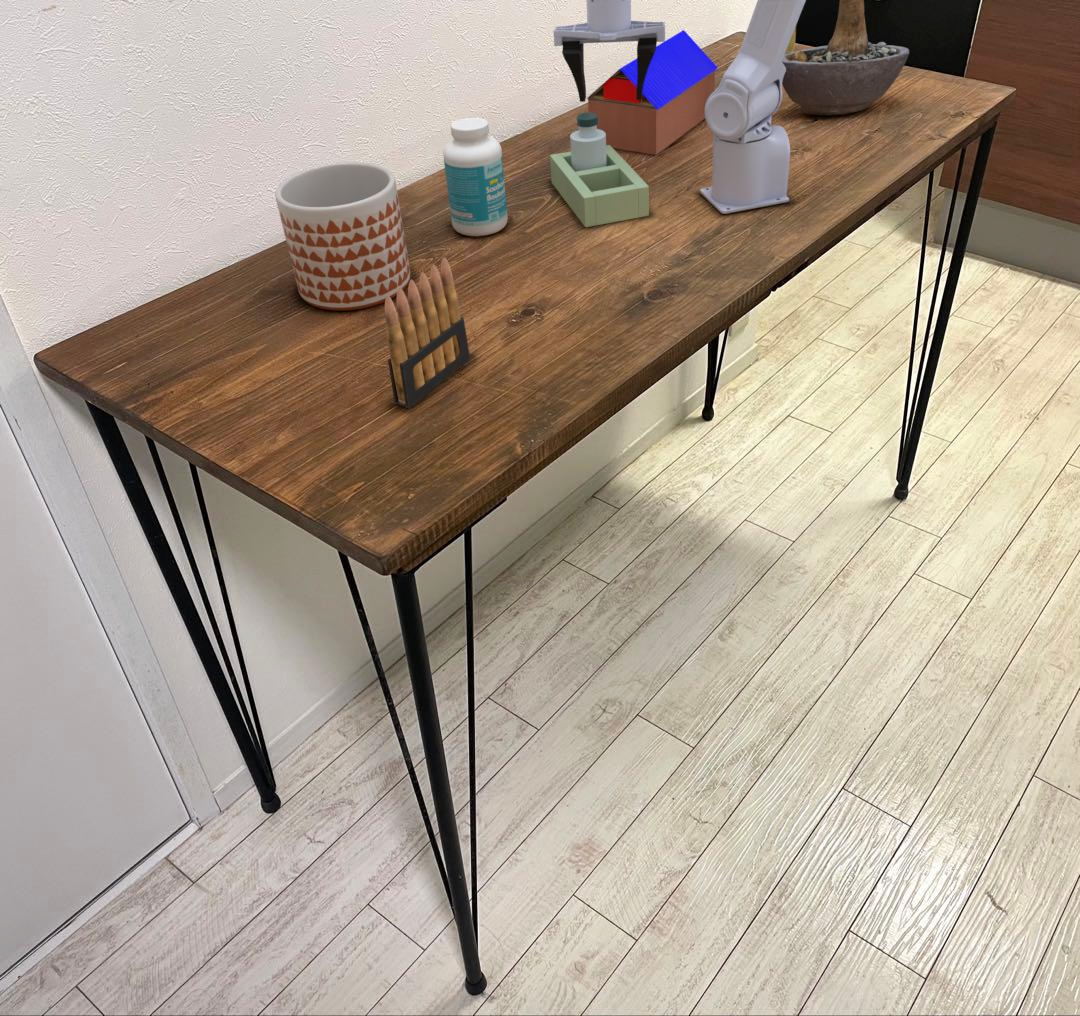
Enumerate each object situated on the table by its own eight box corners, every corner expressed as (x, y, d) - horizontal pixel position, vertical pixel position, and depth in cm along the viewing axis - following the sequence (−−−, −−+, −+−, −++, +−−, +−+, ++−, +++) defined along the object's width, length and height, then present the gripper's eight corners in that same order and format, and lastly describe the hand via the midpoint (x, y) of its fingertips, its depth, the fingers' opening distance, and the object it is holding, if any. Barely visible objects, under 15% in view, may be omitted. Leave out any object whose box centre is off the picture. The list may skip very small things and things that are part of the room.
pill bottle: (501, 239, 131) (490, 134, 123) (446, 238, 133) (431, 134, 124) (514, 215, 137) (504, 113, 128) (461, 213, 138) (448, 113, 130)
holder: (610, 172, 146) (609, 144, 143) (649, 215, 134) (649, 186, 131) (551, 182, 144) (549, 154, 142) (585, 227, 132) (583, 198, 130)
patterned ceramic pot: (379, 318, 117) (359, 213, 109) (277, 305, 122) (251, 203, 113) (429, 265, 127) (414, 164, 119) (334, 254, 131) (313, 157, 123)
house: (716, 111, 162) (719, 33, 154) (657, 156, 149) (657, 73, 142) (649, 102, 167) (649, 26, 160) (586, 144, 155) (583, 64, 147)
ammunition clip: (457, 354, 110) (442, 251, 102) (470, 358, 109) (457, 255, 102) (394, 404, 103) (373, 298, 96) (408, 409, 103) (388, 302, 95)
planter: (766, 119, 157) (776, -23, 145) (820, 87, 167) (834, -49, 154) (855, 137, 149) (874, -12, 137) (906, 102, 159) (928, -40, 146)
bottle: (602, 180, 144) (600, 107, 137) (611, 192, 140) (609, 119, 134) (569, 184, 143) (565, 112, 137) (577, 197, 140) (573, 124, 133)
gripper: (548, 0, 128) (555, 110, 137) (664, -6, 126) (664, 106, 135) (554, -14, 133) (560, 92, 142) (665, -20, 132) (665, 89, 140)
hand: (611, 98), depth 139 cm, fingers open, 7 cm apart
